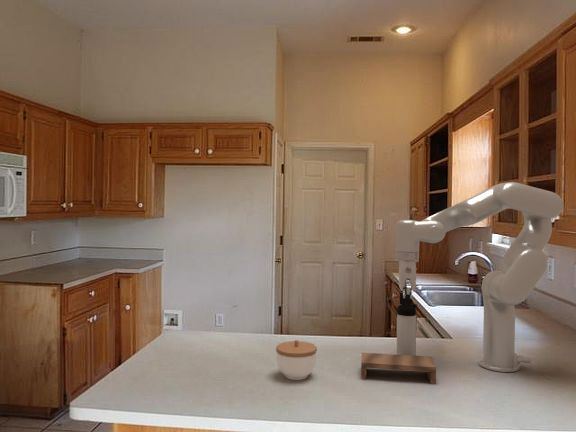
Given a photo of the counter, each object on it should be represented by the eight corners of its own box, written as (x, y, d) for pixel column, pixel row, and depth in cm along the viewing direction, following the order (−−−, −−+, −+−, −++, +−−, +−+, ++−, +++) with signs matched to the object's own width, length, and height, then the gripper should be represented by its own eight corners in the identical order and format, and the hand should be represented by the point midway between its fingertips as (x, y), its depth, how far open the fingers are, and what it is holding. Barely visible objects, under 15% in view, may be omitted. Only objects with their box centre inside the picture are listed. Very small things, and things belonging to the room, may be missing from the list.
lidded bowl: (287, 386, 134) (287, 348, 133) (269, 372, 145) (269, 338, 145) (324, 379, 139) (324, 343, 139) (303, 366, 151) (304, 333, 150)
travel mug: (417, 367, 150) (418, 306, 150) (396, 365, 152) (397, 305, 151) (416, 361, 156) (416, 303, 156) (396, 359, 158) (396, 302, 157)
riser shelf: (431, 372, 146) (431, 356, 146) (435, 383, 136) (436, 367, 136) (361, 367, 150) (361, 352, 150) (361, 378, 140) (361, 362, 140)
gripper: (421, 260, 144) (420, 313, 145) (415, 254, 161) (414, 302, 162) (397, 258, 146) (395, 312, 146) (394, 253, 163) (392, 301, 163)
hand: (405, 307), depth 154 cm, fingers open, 9 cm apart
